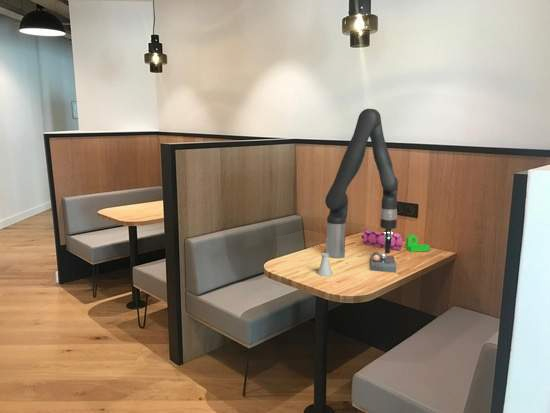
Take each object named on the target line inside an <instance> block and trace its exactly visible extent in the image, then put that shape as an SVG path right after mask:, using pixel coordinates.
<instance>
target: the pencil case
mask: <svg viewBox="0 0 550 413" xmlns="http://www.w3.org/2000/svg"><path fill="white" fill-rule="evenodd" d="M361 239H362V242H363V244H364V245H365V246H371V247H372V246H373V247H376V248H383V249H385V241H384V231H383V232H382V231H376V230H375V231H374V230H372V229H370V228H368V227H365V228H364V233H363V235H361ZM402 248H403V239H402V236H401V234H400V233H398V232H394V233H393V236H392V241H391V246H390V250H394V251H395V250H396V251H400V250H401V249H402Z"/></svg>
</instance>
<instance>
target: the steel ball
mask: <svg viewBox="0 0 550 413" xmlns="http://www.w3.org/2000/svg"><path fill="white" fill-rule="evenodd" d="M379 255H380V258H381V259H386V257H387V256H388V255H387V253H385V252H381V253H379Z"/></svg>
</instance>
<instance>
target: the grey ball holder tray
mask: <svg viewBox="0 0 550 413" xmlns="http://www.w3.org/2000/svg"><path fill="white" fill-rule="evenodd" d="M379 257H380V256H379ZM397 267H398V266H397V263H396V261H395V256H394V255H387V257H386V259H381V258H380V260H379V261H374V260H373V254H370V270H371V271H372V272H381V273H382V272H383V273H397Z"/></svg>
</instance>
